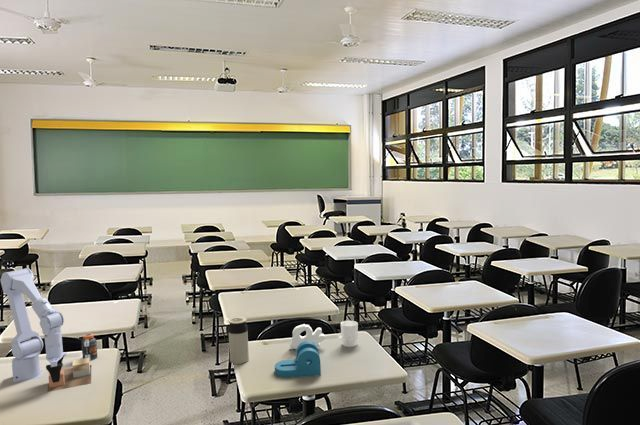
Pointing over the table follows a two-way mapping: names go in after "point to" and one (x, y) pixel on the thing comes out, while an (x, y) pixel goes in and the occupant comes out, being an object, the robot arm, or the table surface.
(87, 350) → the pill bottle
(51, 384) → the block
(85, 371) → the slab bottom
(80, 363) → the slab top
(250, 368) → the table surface
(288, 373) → the camera mount
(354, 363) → the table surface
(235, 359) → the travel mug
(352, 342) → the white cup
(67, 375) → the board
